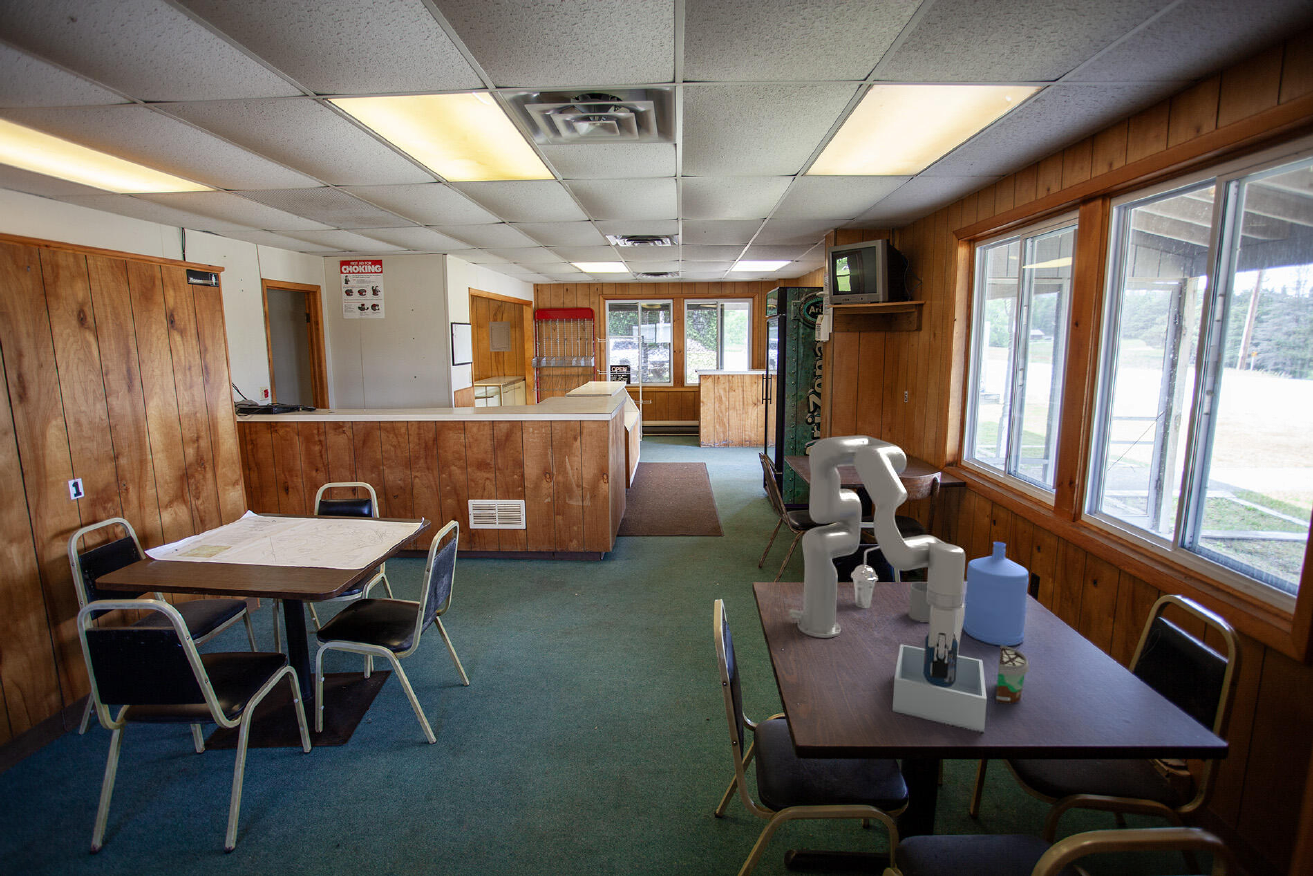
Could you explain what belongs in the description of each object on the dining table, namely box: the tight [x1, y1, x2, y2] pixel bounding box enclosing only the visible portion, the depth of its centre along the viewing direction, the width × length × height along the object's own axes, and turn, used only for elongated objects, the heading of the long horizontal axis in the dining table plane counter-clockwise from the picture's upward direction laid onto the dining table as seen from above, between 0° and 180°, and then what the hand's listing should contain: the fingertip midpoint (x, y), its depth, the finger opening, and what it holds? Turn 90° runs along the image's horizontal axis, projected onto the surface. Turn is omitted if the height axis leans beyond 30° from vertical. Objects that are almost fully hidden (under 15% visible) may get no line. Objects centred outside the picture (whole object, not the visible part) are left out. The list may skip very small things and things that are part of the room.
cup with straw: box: [850, 545, 881, 609], centre depth 194 cm, size 8×9×20 cm
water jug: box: [962, 541, 1029, 647], centre depth 173 cm, size 16×16×28 cm
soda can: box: [923, 632, 958, 688], centre depth 139 cm, size 7×7×12 cm
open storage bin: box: [892, 643, 987, 732], centre depth 140 cm, size 19×19×8 cm
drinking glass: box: [954, 602, 965, 655], centre depth 162 cm, size 7×7×15 cm
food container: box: [995, 645, 1030, 704], centre depth 142 cm, size 12×6×10 cm, turn 148°
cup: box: [908, 581, 931, 623], centre depth 186 cm, size 8×8×10 cm
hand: (939, 668), depth 140 cm, fingers closed on soda can, 7 cm apart
